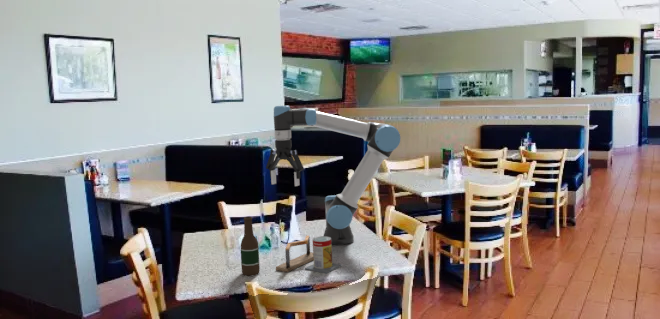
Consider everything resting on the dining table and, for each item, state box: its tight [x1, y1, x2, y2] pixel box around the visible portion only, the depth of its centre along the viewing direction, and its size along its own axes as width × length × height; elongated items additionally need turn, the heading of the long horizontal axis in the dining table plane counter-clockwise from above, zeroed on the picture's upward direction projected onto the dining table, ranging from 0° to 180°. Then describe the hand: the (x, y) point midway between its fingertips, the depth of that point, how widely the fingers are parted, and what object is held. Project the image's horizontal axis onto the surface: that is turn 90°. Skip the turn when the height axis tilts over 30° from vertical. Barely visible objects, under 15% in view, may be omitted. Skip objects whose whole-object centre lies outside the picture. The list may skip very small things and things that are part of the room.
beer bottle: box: [240, 215, 261, 277], centre depth 237 cm, size 8×8×24 cm
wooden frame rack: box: [275, 235, 314, 273], centre depth 249 cm, size 24×6×10 cm, turn 146°
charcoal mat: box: [304, 262, 342, 274], centre depth 242 cm, size 11×11×1 cm
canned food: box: [312, 235, 333, 269], centre depth 241 cm, size 8×8×12 cm
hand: (285, 184), depth 265 cm, fingers open, 13 cm apart
